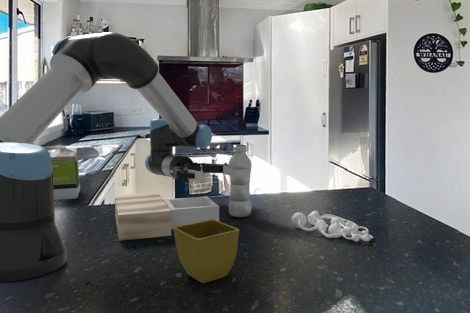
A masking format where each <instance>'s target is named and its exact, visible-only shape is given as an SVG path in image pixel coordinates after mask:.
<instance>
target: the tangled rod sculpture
mask: <svg viewBox="0 0 470 313" xmlns="http://www.w3.org/2000/svg"><path fill="white" fill-rule="evenodd" d="M325 220H330V225H329V224H327V222H326V221H325ZM307 221H308V223H309V224H310V225H312V226H313V227H310V228H309V227H305V226H306V224H307ZM291 224H292V225H293V226H294V227H295V228H300V229H301V230H303V231H306V232H312V231H316V230H318V231H319V232H320V233H321V234H322V235H323V236H324V237H326V238H328V239H329V238H330V239H331V238H333V239H338V238H340V237H343V238H345V239H346V240H352V241H353V242H357V243H358V241H360V240H362V241H363V242H370V240H371V239H374V236H372V235H371V234H369V229H368V228H367V227H365V226H361V225H360V226H359V225H358V224H357V223H356V222H354V221H351V220H348V219H345V218H343V217H340V216H337V215H334V214H329V213H328V214H327V213H325V214H323V215H320V213H319V211H318V210H313V211H311V213H309V214H308V215H307V216H306V215H305V214H304V213H303V212H299V211H297V212H295V213H294V214H293V215H292V216H291ZM327 228H328V229H327ZM359 229H362V231H360V230H359ZM326 231H327V233H326Z"/></svg>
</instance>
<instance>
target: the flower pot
mask: <svg viewBox="0 0 470 313" xmlns="http://www.w3.org/2000/svg"><path fill="white" fill-rule="evenodd" d="M172 231H173V235H174V236H173V237H174V240H175V246H176V247H175V248H176V252H177V256H178V259H179V262H180V264H181V265H182V267H183V269H184V271H186V273H187V275H188V276H190V277H191V278H193V279H194V280H196V281H198V282H199V283H201V284H207V283H210V282H212V281H215V280H216V281H217V280H219V279H223V278H226V276H227V275H228V273H229V272H230V271H231V269H232V267H233V265H234V264H235V263H234V262H235V261H236V256H237V252H238V244H239V235H240V229H239V228H237V227H235V226H232V225H230V224H227V223H224V222H222V221H220V220H219V221H217V220H213V219H212V220H206V221H202V222H197V223H193V224H187V225H182V226H177V227H174V228H173V229H172Z"/></svg>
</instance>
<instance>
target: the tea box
mask: <svg viewBox="0 0 470 313" xmlns="http://www.w3.org/2000/svg"><path fill="white" fill-rule="evenodd" d="M49 153H50V156H51V163H52V166H53V190H54V201H59V200H60V201H61V200H72V199H78V197H79V194H80V190H81V184H80V183H81V182H80V169H79V157H78V155H79V154H78V151H54V152H52V151H51V152H49Z"/></svg>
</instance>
